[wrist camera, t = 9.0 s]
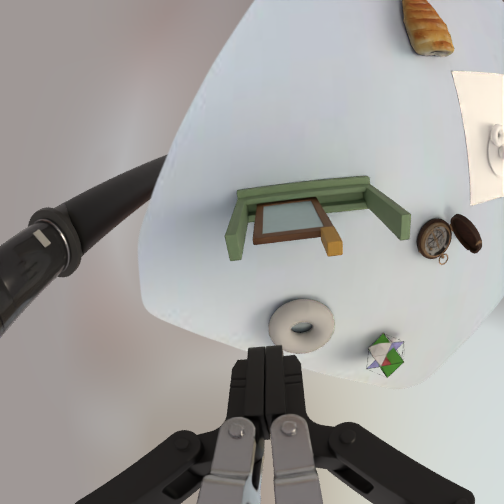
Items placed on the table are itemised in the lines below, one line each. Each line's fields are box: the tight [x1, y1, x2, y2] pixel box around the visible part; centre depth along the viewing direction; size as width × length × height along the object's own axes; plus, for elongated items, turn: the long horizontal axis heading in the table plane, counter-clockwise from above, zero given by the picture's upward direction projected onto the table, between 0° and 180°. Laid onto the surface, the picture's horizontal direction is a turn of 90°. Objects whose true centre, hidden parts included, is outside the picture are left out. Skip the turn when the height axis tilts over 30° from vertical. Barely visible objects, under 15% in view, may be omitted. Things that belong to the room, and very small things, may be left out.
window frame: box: [225, 176, 411, 261], centre depth 28 cm, size 16×4×12 cm, turn 99°
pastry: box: [402, 0, 454, 57], centre depth 19 cm, size 9×7×4 cm
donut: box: [269, 299, 335, 354], centre depth 40 cm, size 10×4×10 cm
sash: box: [253, 197, 343, 256], centre depth 26 cm, size 7×1×13 cm, turn 99°
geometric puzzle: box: [366, 333, 404, 378], centre depth 40 cm, size 7×7×8 cm
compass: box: [417, 214, 482, 265], centre depth 31 cm, size 8×8×7 cm
